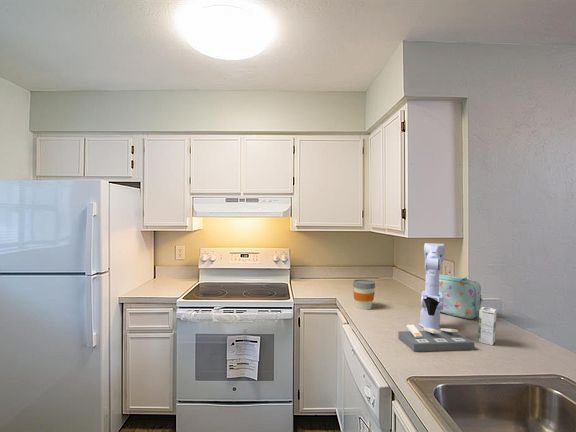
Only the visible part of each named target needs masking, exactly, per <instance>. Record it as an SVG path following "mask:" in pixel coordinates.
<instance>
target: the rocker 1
mask: <svg viewBox="0 0 576 432" xmlns="http://www.w3.org/2000/svg"><path fill="white" fill-rule="evenodd" d="M406 328H407V330H408V331H410V332H411V333H412V334H413V336H414V337H415V338H422V337H423V336H422V335H421V333H420V332H419V331H420V330H419V329H418V328H417V327H416V326H415V324H406Z"/></svg>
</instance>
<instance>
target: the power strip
mask: <svg viewBox="0 0 576 432" xmlns="http://www.w3.org/2000/svg"><path fill="white" fill-rule="evenodd" d="M418 331H419V332H420V333H421V335H422V336H423V337H422V338H415V337H414V336H413V334H412V333H411V332H410V330H406V331H405V330H403V331H402V330H401V331H398V332H397V333H398V336H397V339H399V341H401V342H402V343H403V344H404V345H406V347H408V348H409V349H410V350H411V351H413V352H414V353H415V352H416V353H417V352H418V353H419V352H441V351H442V352H446V351H470V350H471V351H472V350H473V351H474V350H475V341H472V340H471V339H469V338H467V337H466V336H465V335H463V334H461V333H459V331H458V332H448V331H441V330H438V331H441V333H431V332H428V331H425V330H418Z"/></svg>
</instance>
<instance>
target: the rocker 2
mask: <svg viewBox="0 0 576 432" xmlns="http://www.w3.org/2000/svg"><path fill="white" fill-rule="evenodd" d="M440 329H441V331H448V332H458V333H459V329H456V328H444V327H440Z"/></svg>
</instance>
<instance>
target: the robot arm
mask: <svg viewBox="0 0 576 432" xmlns="http://www.w3.org/2000/svg"><path fill="white" fill-rule="evenodd" d="M445 248H446V245H445V243H432V242H430V243H429V242H425V243H424V245H423V255H424V256H423V257H424V273H425V281H424V283H425V284H424V286H425V287H424V290H422V291H421V297H420V306H421V309H420V313H419V322H418V324H417V325H419V326H420V327H422V328H423V329H424V328H432V329H435V330H441V329H440V328H441V312H440V309H441V310H443V294H442V293H441V292H440V291H439V275H440V271H441V270H442V269H441V264H442V263H443V262H444V260H445V254H446V252H445V251H446V249H445Z"/></svg>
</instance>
